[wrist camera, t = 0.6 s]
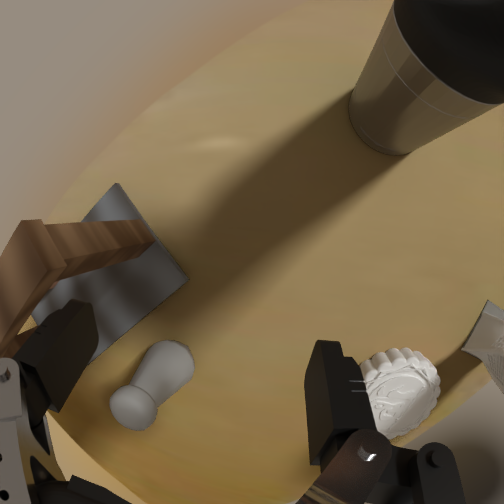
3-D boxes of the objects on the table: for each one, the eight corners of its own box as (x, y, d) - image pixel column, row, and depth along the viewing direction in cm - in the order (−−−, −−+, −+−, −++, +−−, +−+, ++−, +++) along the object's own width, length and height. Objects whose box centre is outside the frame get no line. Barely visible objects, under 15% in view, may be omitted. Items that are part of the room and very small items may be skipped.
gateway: (118, 183, 33) (-1, 167, 15) (189, 279, 33) (92, 339, 15) (26, 299, 37) (-62, 330, 20) (76, 374, 37) (-2, 433, 20)
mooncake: (380, 329, 31) (390, 342, 27) (449, 367, 30) (460, 380, 27) (322, 408, 33) (324, 426, 29) (392, 436, 32) (399, 452, 29)
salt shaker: (155, 370, 35) (102, 428, 22) (154, 329, 34) (93, 379, 21) (199, 380, 34) (158, 448, 21) (201, 339, 34) (155, 399, 21)
